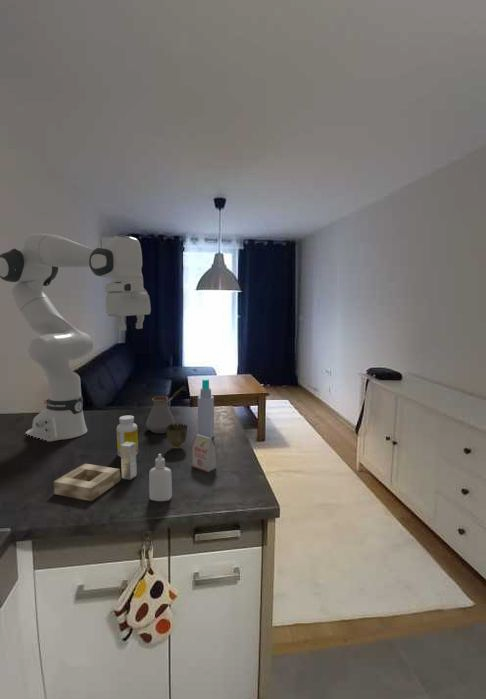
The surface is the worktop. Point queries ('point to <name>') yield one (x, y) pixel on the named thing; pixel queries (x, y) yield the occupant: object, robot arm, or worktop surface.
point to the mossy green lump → (176, 435)
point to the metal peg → (128, 460)
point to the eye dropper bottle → (160, 481)
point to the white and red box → (203, 453)
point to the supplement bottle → (126, 432)
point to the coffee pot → (161, 414)
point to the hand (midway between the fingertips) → (131, 329)
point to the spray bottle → (206, 411)
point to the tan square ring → (87, 482)
